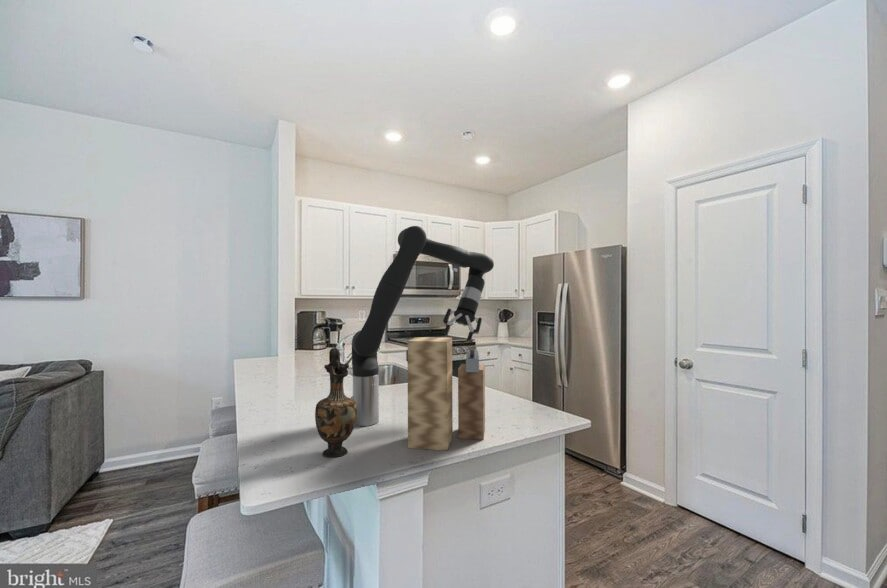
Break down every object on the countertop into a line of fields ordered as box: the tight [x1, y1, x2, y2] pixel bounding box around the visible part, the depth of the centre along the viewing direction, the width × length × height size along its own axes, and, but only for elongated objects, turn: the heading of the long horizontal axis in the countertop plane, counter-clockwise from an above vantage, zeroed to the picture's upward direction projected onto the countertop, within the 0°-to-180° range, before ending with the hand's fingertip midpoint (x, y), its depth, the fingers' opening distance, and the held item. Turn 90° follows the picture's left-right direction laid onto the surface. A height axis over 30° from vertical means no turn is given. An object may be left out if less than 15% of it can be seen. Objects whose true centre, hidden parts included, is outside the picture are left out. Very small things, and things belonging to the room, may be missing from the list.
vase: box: [314, 347, 357, 459], centre depth 112 cm, size 12×12×30 cm
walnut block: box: [457, 363, 486, 441], centre depth 127 cm, size 8×10×22 cm
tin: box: [465, 349, 480, 372], centre depth 128 cm, size 4×20×6 cm, turn 176°
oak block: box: [407, 336, 454, 451], centre depth 120 cm, size 12×11×32 cm
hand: (456, 338), depth 146 cm, fingers open, 8 cm apart
